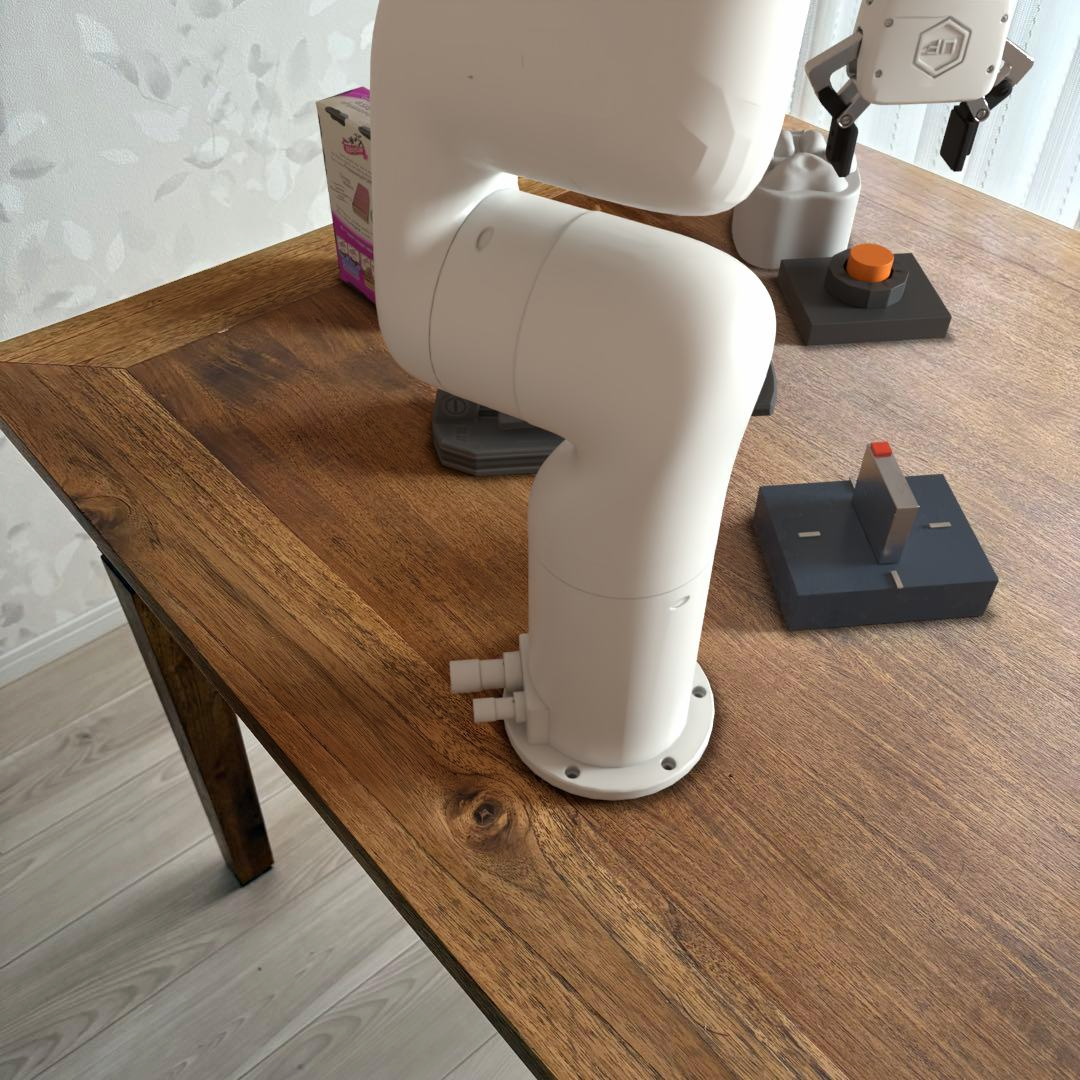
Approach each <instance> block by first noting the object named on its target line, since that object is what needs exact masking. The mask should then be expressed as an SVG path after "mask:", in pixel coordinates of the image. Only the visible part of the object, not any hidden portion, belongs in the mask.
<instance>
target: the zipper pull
mask: <svg viewBox="0 0 1080 1080" xmlns="http://www.w3.org/2000/svg"><path fill="white" fill-rule="evenodd" d="M436 389H437V390H436V395H435V399H434V405H433V409H432V410H433V412H432V418H431V425H432V426H431V427H432V428H431V429H432V438H433V444H434V447H435V450H436V453H437V455H438V458H439V460H440V463H441V464H442V466H444V467H446V468H450V469H452V470H456V471H460V472H461V473H462V472H463V473H466V474H468V475H469V474H470V475H471V476H475V477H485V476H487V477H489V476H504V475H505V476H506V475H523V474H537V473H538V471H539V469H540V467H541V466H542V464H543V463H544V461H545V460H546V459H547V458H548V456H549V455H550V454H551V453H552V452H553V451H554V450H555V449H556V448H557V447H558V446H559V445H560V444H561V443H562V442H563V441H564V440H565V438H563V437H561V436H559V435H557V434H555V433H552V432H550V431H548V430H545V429H542V428H540V427H537V426H534V425H531V424H529V423H528V422H527V421H524V420H522V419H519V418H516V417H513V416H511V415H508V414H505V413H502V412H499V411H497V410H494V409H491V408H488V407H486V406H483V405H480V404H477V403H475V402H472V401H469V400H466V399H464V398H461V397H458V396H455V395H453V394H450V393H448V392H446V391H443V390H441V389H438V388H436ZM777 400H778V380H777V375H776V369H775V366H774V363H773V360H772V359H771V361H770V364H769V368H768V371H767V374H766V378H765V381H764V383H763V386H762V389H761V391H760V394H759V396H758V399H757V401H756V404H755V406H754V409H753V412H752V414H751V417H770V416H772V415H773V414H774V413H775V408H776V405H777V403H776V402H777Z"/></svg>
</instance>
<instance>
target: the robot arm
mask: <svg viewBox="0 0 1080 1080" xmlns="http://www.w3.org/2000/svg"><path fill="white" fill-rule="evenodd" d="M1013 4H1014V0H861V2H860V6H859V9H858V13H857V16H856V19H855V23H854V27H853V31H852V34H850V35H849V36H847V37H845V38H844V39H842V40H841V41H839V42H837V43H836V44H834V45H832V46H830V47H829V48H827V49H825V50H824V51H822V52H820V53H819V54H818V55H816V56H814V57H812V58H811V59H808V61H806V63H805V64H804V72H805V74H806V76H807V79H808V81H809V84H810V86H811V87H812V90H813V93H814V95H815V96H816V98H817V100H818V101H819V103H820V104H821V106H822V107H823V108H824V109H825V110H826V111H827V113H828V114H829V115H830V116H831V121H830V126H829V129H828V130H829V131H828V136H827V139H828V140H827V145H826V158H827V160H828V162H830V163H831V165H832V166H833V168H834V170H835V172H836V173H837V175H838V177H847V175H849V173H850V169H851V164H852V160H853V155H854V153H855V149H856V145H857V141H858V136H859V128H858V126H857V125H856V123H855V122H856V121H857V119H859V117H860V116H861V115H862V114H863V113H865V111H866V110H867V109H868V108H869V107H870V106H871V105H875V106H903V105H926V104H927V105H928V104H929V105H930V104H949V103H959V104H955V105H953V108H952V109H951V110H950V112H949V117H948V120H947V123H946V127H945V130H944V134H943V137H942V142H941V146H940V149H939V156H940V157H941V158H942V159H943V161H944V162H945V164H946V165H947V167H948V168H949V169H950V171H952V172H954V173H959V172H960V173H961V172H962V171H963V170H964V166H965V162H966V159H967V156H970V155H971V153H972V150H973V147H974V143H975V139H976V137H977V133H978V130H979V126H980V123H982V122H985V121H986V120H987V119H988V118H989V117H990V114H991V111H992V110H994V108H996V107H997V106H998V105H999V104H1001V103H1002V102H1003V101H1004V100H1006V99H1007V98H1008V97H1009V96H1010V95H1011V94H1012V92H1013V88H1014V87H1015V85H1018V84H1019V82H1021V80H1022V79H1023V78H1024V77H1026V75H1027V74H1028V73H1029V71H1030V70H1031V69H1032V68H1033V66H1034V65H1035V64H1034V63H1035V60H1034V58H1033V57H1031V55H1030V54H1029V53H1028V52H1026V50H1024V49H1023V48H1022V47H1020V46H1019V45H1018V44H1016V43H1015V42H1013V41H1012V40H1011V39H1010V38H1008V31H1009V27H1010V22H1011V16H1012V13H1013ZM810 5H811V0H378V4H377V8H376V15H375V18H374V24H373V30H372V38H371V48H370V58H369V59H370V63H369V90H370V130H371V173H372V212H373V252H374V280H375V298H376V304H375V308H376V315H377V321H378V325H379V330H380V334H381V336H382V339H383V342H384V344H385V347H386V349H387V350H388V352H389V355H390V356H391V357H392V359H393V360H394V361H395V362H396V364H397V365H398V366H399V367H400V368H401V369H402V370H404V371H405V372H406V373H407V374H408V375H410V376H412V377H413V378H415V379H417V380H419V381H421V382H422V383H424V384H427V385H429V386H431V387H434V388H436V389H441V390H443V391H446V392H448V393H450V394H453V395H455V396H458V397H461V398H464V399H466V400H469V401H472V402H475V403H477V404H480V405H483V406H486V407H488V408H491V409H494V410H497V411H499V412H502V413H505V414H508V415H511V416H513V417H516V418H519V419H522V420H524V421H527V422H528V423H529V424H531V425H534V426H537V427H540V428H542V429H545V430H548V431H550V432H552V433H555V434H557V435H559V436H561V437H563V438H565V440H564V441H563V442H562V443H561V444H560V445H559V446H558V447H557V448H556V449H555V450H554V451H553V452H552V453H551V454H550V455H549V456H548V458H547V459H546V460H545V461H544V463H543V464H542V466H541V467H540V469H539V471H538V473H536V475H535V477H534V479H533V482H532V484H531V487H530V490H529V496H528V502H527V517H526V518H527V519H526V520H527V521H526V522H527V525H526V526H527V542H528V543H527V544H528V545H527V546H528V547H527V555H528V556H527V560H528V562H527V566H528V568H527V569H528V570H527V571H528V572H527V573H528V576H527V577H528V581H527V582H528V584H527V585H528V588H527V589H528V593H527V594H528V632H526V633H520V634H519V635H518V650H515V651H506V652H504V651H503V652H502V658H494V659H480V658H471V659H470V658H469V659H457V660H449V676H450V677H449V678H450V689H451V691H450V692H451V694H452V695H454V694H465V693H466V694H467V693H479V692H482V691H485V690H497V689H503V693H502V697H494V696H492V697H478V698H472V708H473V721H474V724H479V723H491V722H496V721H501V720H503V723H504V729H505V732H506V734H507V737H508V740H509V742H510V745H511V746H512V748H513V750H514V751H515V753H516V754H517V756H518V757H519V758H520V760H521V762H523V763H524V764H525V765H526V767H527V768H529V769H530V770H531V771H532V772H533V773H534V775H536V776H538V777H539V778H541V779H542V780H544V781H545V782H547V783H548V784H549V785H551V786H553V787H555V788H558V789H560V790H562V791H565V792H566V793H569V794H572V795H575V796H579V797H584V798H588V799H592V800H601V801H602V800H603V801H622V800H623V801H624V800H633V799H638V798H641V797H642V798H643V797H646V796H649V795H653V794H656V793H658V792H660V791H662V790H664V789H666V788H669V787H671V786H673V785H674V784H675V783H677V782H678V781H680V780H681V779H682V778H684V777H685V776H686V775H687V774H689V772H691V770H692V769H694V767H695V766H696V764H697V763H698V762H699V761H700V760H701V758H702V756H703V755H704V753H705V751H706V749H707V747H708V745H709V741H710V738H711V734H712V731H713V727H714V726H713V725H714V718H715V703H714V701H715V700H714V694H713V691H712V688H711V684H710V681H709V679H708V677H707V675H706V674H705V672H704V670H703V668H702V667H701V665H700V664H699V662H698V661H697V660H698V654H699V648H700V643H701V642H700V641H701V635H702V632H703V631H702V629H703V625H704V618H705V612H706V606H707V601H708V596H709V595H708V594H709V590H710V583H711V578H712V577H711V576H712V571H713V566H714V559H715V553H716V548H717V544H718V538H719V533H720V527H721V521H722V515H723V511H724V506H725V501H726V496H727V491H728V487H729V484H730V483H729V482H730V479H731V476H732V472H733V467H734V464H735V461H736V458H737V455H738V452H739V448H740V445H741V442H742V441H743V438H744V435H745V432H746V430H747V427H748V425H749V422H750V419H751V417H752V416H751V414H752V412H753V409H754V406H755V404H756V401H757V399H758V396H759V394H760V391H761V389H762V386H763V383H764V381H765V378H766V374H767V371H768V368H769V364H770V361H771V360H772V358H773V354H774V348H775V342H776V337H777V318H776V311H775V306H774V303H773V301H772V298H771V297H772V296H771V295H770V293H769V292H768V290H767V288H766V286H765V285H764V283H763V282H762V281H761V279H760V278H759V276H757V275H756V274H755V272H753V271H752V270H751V269H750V268H749V267H748V266H746V264H744V263H743V262H741V261H739V260H738V259H737V258H735V257H734V256H732V255H730V254H729V253H727V252H725V251H723V250H721V249H718V248H716V247H714V246H712V245H710V244H708V243H706V242H703V241H700V240H698V239H696V238H692V237H689V236H686V235H683V234H681V233H677V232H674V231H670V230H667V229H663V228H660V227H656V226H653V225H649V224H646V223H642V222H639V221H635V220H631V219H629V218H625V217H622V216H618V215H614V214H610V213H607V212H604V211H600V210H590V209H586V208H583V207H579V206H575V205H572V204H568V203H565V202H561V201H557V200H554V199H551V198H548V197H544V196H540V195H538V194H537V195H536V194H533V193H530V192H526V191H523V190H520V187H519V183H518V180H519V178H518V177H520V178H522V179H523V178H524V179H527V180H531V181H534V182H538V183H541V184H545V185H549V186H552V187H555V188H559V189H563V190H567V191H570V192H574V193H576V194H581V195H584V196H587V197H591V198H595V199H599V200H603V201H606V202H610V203H614V204H618V205H622V206H625V207H631V208H635V209H640V210H644V211H649V212H653V213H661V214H667V215H673V216H679V217H707V216H713V215H718V214H721V213H723V212H727V211H730V210H731V209H734V206H736V205H737V204H739V203H740V202H742V201H743V200H745V199H746V198H747V197H748V196H749V195H750V194H751V192H752V191H753V190H754V189H755V187H756V186H757V185H758V183H759V182H760V181H761V179H762V177H763V175H764V173H765V171H766V170H767V168H768V166H769V163H770V161H771V159H772V156H773V154H774V150H775V147H776V144H777V141H778V138H779V135H780V132H781V130H782V128H783V125H784V120H785V117H786V113H787V109H788V105H789V101H790V97H791V93H792V88H793V84H794V78H795V74H796V69H797V65H798V61H799V60H798V59H799V55H800V51H801V47H802V42H803V37H804V32H805V28H806V23H807V18H808V13H809V9H810ZM1002 61H1003V65H1002V67H1000V66H1001V63H1002ZM844 67H845V73H846V76H847V77H848V78H849V79H847V81H846V82H845V83H844V84H843V85H842V87H840V89H839V90H838V91H836V90H835V88H834V87H833V85H832V82H831V76H832V75H833V74H834V73H835V72H837V71H839V70H840V69H842V68H844Z"/></svg>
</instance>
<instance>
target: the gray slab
mask: <svg viewBox="0 0 1080 1080" xmlns="http://www.w3.org/2000/svg"><path fill="white" fill-rule="evenodd" d="M904 476H905V475H904V473H903V470H902V469H901V467H900V464H899V462H898V461H897V458H896V457H895V454H894V452H893V449H892V448H891V446H890V444H889V442H888V441H875V442H874V441H871V442H870V443H867V444H866V447H865V450H864V454H863V458H862V461H861V464H860V468H859V470H858V475H857V479H856V480H857V482H856V485H855V489H854V492H853V496H852V502H853V504H854V507H855V509H856V511H857V514H858V516H859V519H860V521H861V523H862V526H863V528H864V530H865V533H866V535H867V537H868V540H869V542H870V544H871V547H872V549H873V551H874V554H875V556H876V558H877V561H878V563H879V564H886V563H899V562H900V560H901V557H902V554H903V551H904V548H905V545H906V542H907V539H908V537H909V534H910V531H911V528H912V525H913V522H914V519H915V516H916V514H917V511H918V508H919V506H918V504H917V502H916V500H915V498H914V496H913V494H912V491H911V489H910V487H909V485H908V483H907V481H906V479H905V477H904Z"/></svg>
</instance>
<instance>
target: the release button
mask: <svg viewBox="0 0 1080 1080" xmlns="http://www.w3.org/2000/svg"><path fill="white" fill-rule="evenodd" d="M850 249H851V251H850V254H849V259H848V263H847V267H846V272H847V274H848V275H849V276H851V277H853V278H854V279H856V280H860V281H864V282H868V283H873V282H884V281H886V280H887V279H888V278H889V275H890V271H891V267H892V263H893V260H894V256H893V254H894V253H893V252H892V251H891V250H890V249H889V248H887V247H885V246H883V245H881V244H876V243H869V242H867V243H866V242H865V243H860V244H856V245H853V247H852V248H850Z"/></svg>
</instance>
